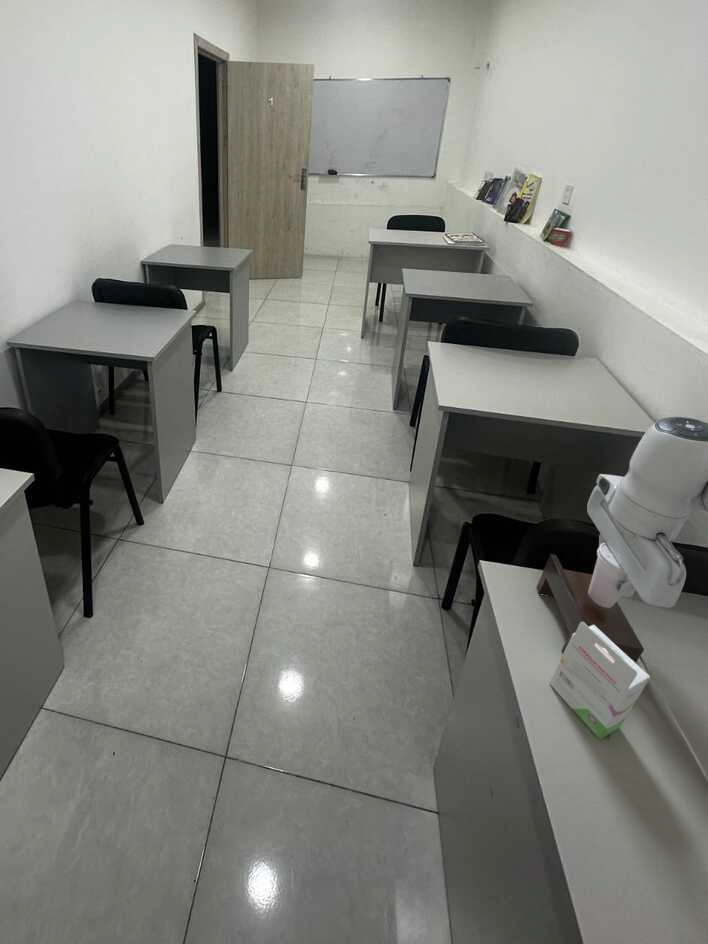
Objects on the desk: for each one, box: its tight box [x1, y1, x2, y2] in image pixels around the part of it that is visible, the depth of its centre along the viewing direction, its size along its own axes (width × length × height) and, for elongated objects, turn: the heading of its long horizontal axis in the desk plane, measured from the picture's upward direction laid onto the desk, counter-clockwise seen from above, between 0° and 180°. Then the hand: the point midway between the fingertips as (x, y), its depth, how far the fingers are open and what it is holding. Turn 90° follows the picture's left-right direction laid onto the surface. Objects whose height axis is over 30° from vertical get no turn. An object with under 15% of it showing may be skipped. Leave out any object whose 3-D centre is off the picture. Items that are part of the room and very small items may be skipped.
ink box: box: [549, 622, 651, 741], centre depth 70 cm, size 9×5×15 cm, turn 22°
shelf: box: [535, 553, 645, 664], centre depth 83 cm, size 10×14×9 cm
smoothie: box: [588, 542, 628, 608], centre depth 79 cm, size 6×6×14 cm
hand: (612, 575), depth 80 cm, fingers closed on smoothie, 5 cm apart
